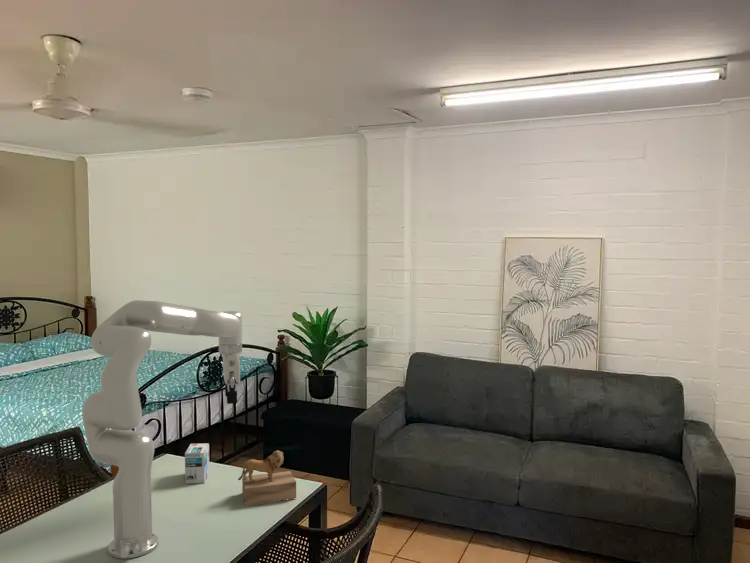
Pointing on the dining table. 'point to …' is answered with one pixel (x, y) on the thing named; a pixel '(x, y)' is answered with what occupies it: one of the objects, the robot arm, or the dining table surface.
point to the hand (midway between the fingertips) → (231, 399)
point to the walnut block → (269, 488)
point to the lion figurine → (263, 465)
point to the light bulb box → (197, 463)
